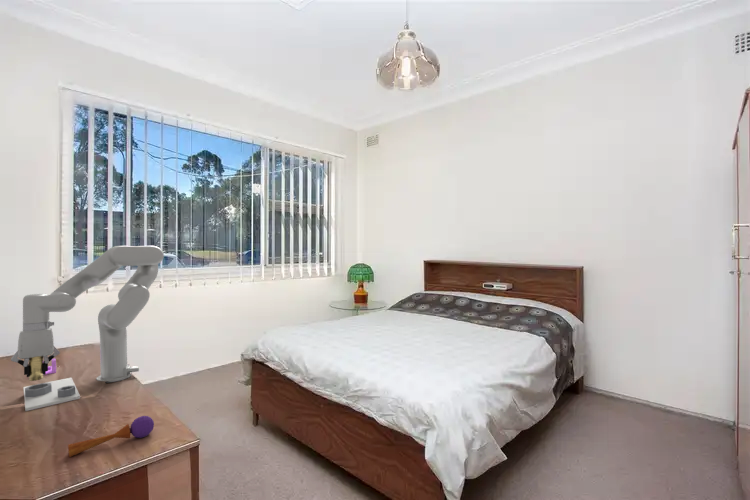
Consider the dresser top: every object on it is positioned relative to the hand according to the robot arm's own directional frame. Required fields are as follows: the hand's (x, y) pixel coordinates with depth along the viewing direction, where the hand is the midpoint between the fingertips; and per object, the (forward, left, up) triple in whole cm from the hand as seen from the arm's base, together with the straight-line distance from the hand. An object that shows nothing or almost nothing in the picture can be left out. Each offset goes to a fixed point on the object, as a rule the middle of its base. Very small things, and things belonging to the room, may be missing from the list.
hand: (36, 374), depth 143 cm
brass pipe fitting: (0, 0, -2) cm, 2 cm away
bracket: (+7, -33, -9) cm, 35 cm away
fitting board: (-4, -1, -8) cm, 9 cm away
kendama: (-36, +53, -9) cm, 65 cm away
